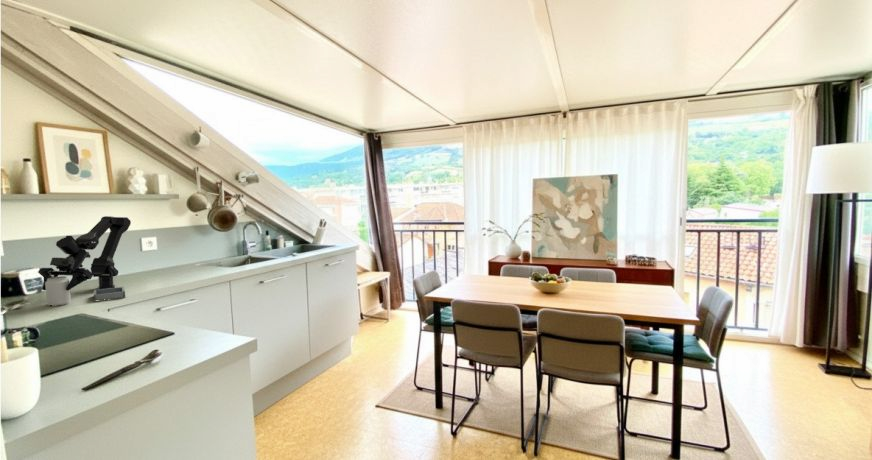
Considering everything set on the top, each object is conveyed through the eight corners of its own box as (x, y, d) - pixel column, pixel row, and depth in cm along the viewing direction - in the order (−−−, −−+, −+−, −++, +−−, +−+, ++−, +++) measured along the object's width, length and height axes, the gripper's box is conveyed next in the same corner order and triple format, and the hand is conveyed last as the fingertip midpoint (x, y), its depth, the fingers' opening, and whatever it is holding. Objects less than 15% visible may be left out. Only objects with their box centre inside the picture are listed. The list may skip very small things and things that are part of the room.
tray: (94, 296, 181) (93, 290, 181) (124, 292, 188) (123, 286, 188) (94, 301, 173) (93, 295, 172) (125, 297, 180) (124, 291, 180)
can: (55, 307, 163) (53, 280, 162) (42, 305, 165) (40, 278, 164) (75, 302, 171) (73, 276, 170) (62, 301, 172) (60, 275, 171)
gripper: (40, 249, 168) (17, 280, 159) (86, 250, 170) (66, 280, 161) (56, 263, 177) (36, 293, 167) (100, 264, 179) (83, 293, 169)
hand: (55, 290), depth 166 cm, fingers open, 9 cm apart
